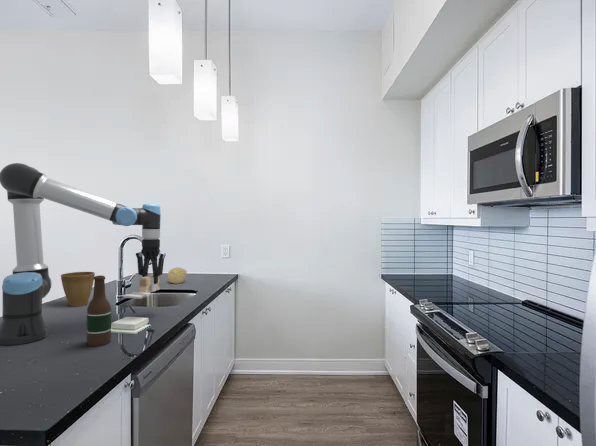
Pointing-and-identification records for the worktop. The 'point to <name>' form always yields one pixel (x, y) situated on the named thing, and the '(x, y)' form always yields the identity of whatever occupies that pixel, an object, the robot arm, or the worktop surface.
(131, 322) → the tile
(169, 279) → the beige lumpy ball
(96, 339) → the beer bottle
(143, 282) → the turner
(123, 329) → the mat
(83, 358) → the worktop surface
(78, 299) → the plant pot
